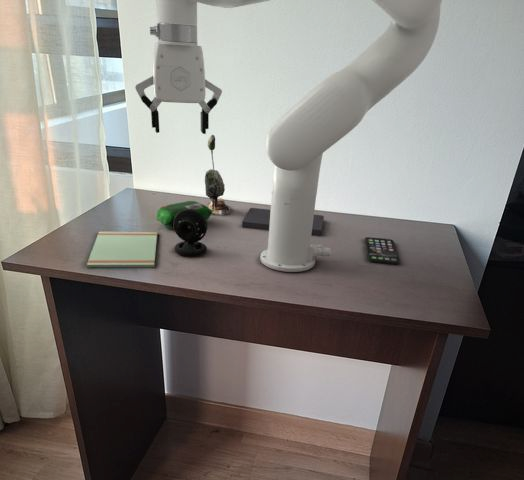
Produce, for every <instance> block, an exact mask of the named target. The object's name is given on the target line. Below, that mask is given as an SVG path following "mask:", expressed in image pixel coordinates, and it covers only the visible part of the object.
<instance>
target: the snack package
mask: <svg viewBox="0 0 524 480" xmlns="http://www.w3.org/2000/svg"><path fill="white" fill-rule="evenodd" d="M184 209H194V210H197V211H198V212H200V213H201V214H202V215H203V216H204V217H205V220H206V221H207V220H208V219H210V217H211V215H213V214H212V210H211V209H209V208H208V207H207V205H205V204H203V203H200V202H198V201H195V200H187V201H182V202H176V203H170V204H166V205H163V206H161V207H159V209H158V210H157V213H156V220H157V222H160V223H161V224H162V225H163V226H165V227H167V228H169V229H171V230H174V226H173V222H174V218H175V216H176V214H177V213H178V212H179V211H181V210H184Z"/></svg>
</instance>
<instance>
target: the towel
mask: <svg viewBox="0 0 524 480" xmlns="http://www.w3.org/2000/svg"><path fill="white" fill-rule="evenodd" d="M157 243H158V232H157V231H98V233H97V236H96V239H95V242H94V244H93V247H92V249H91V251H90V255H89V258H88V260H87V262H86V268H155V266H156V256H157V255H156V253H157V245H158V244H157Z"/></svg>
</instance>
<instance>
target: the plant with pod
mask: <svg viewBox="0 0 524 480" xmlns="http://www.w3.org/2000/svg"><path fill="white" fill-rule="evenodd" d="M206 144H207V147H208V150H209V151H210V153H211V154H210V155H211V163H212V168H210V169H209V170H206V169H205V170H204V171H205V175H204V185H205V187H204V188H205V196H206V197H207V198H208V199H210V202H209V203H208V204H207V205H206V206H207V207H208V208H209V209H211V210H212V214H211V215H216V216H222V215H223V216H224V215H226V214H229V213H230V212H231V207H230V205H228V204H226V202H225V200H224V199H223V198H220V197H223V196H224V195H225V194H224V193H225V190H226V188H225V187H226V186H225V185H226V184H225V182H224V179H223V177H222V175H221V173H220V171H218V170H216V169H215V165H214V156H213V154H214V151H215V149H216V136H215V134H211V135H210V136H209V138H208V140H207V143H206ZM218 198H219V199H218Z"/></svg>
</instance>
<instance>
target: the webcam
mask: <svg viewBox="0 0 524 480" xmlns="http://www.w3.org/2000/svg"><path fill="white" fill-rule="evenodd" d="M207 223H208V222H207V220H205V217H204V216H203V215H202V214H201V213H200V212H198V211H197V210H194V209H184V210H181V211H179V212H178V213H177V214H176V216H175V218H174V222H173V226H174V229H173V230H174V232H175V234H176V235H177V237H178V238H179V239H180V240H182V241H180V242H177V243H176V244H175V245H174V247H173V249H174V252H175V253H176V254H177V255H179V256H181V257H184V258H185V257H186V258H195V257H201V256H203V255H205V254H206V253H207V251H208V247H207V244H205V243H203V242H201V240H203V239H204V237H205V236H206V234H207V231H208V224H207ZM196 248H198V249H196Z"/></svg>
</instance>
